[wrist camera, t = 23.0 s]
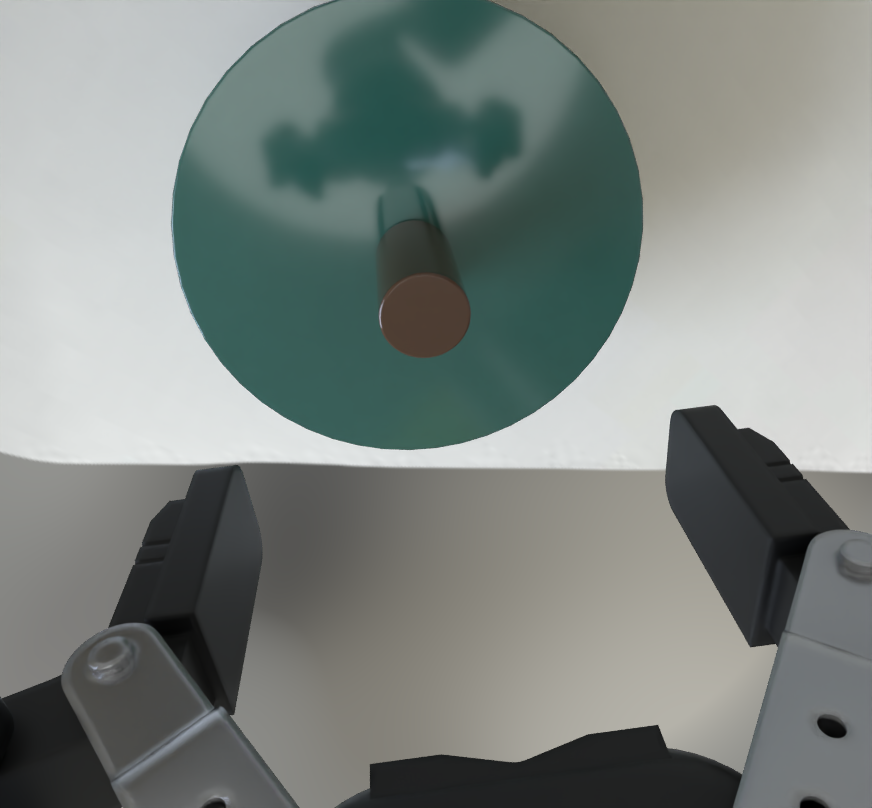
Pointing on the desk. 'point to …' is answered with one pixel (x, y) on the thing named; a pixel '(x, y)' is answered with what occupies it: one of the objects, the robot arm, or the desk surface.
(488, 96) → the lid
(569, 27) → the desk surface
